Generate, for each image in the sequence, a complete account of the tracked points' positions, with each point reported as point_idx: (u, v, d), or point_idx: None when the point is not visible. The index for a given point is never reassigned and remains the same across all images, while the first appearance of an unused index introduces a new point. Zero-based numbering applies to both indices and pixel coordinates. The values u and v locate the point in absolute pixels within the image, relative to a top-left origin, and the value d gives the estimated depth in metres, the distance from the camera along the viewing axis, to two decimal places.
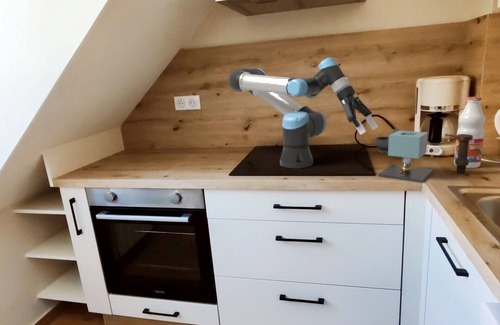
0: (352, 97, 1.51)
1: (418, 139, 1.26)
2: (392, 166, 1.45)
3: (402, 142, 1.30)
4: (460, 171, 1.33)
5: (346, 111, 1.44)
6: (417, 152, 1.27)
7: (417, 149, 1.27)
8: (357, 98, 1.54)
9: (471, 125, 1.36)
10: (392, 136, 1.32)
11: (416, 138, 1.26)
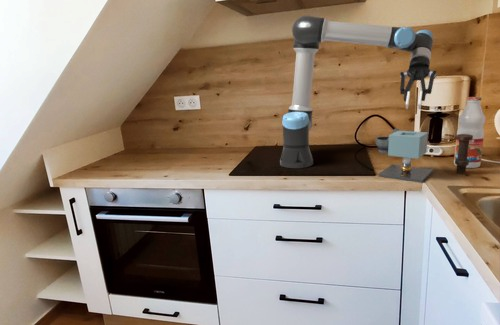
0: None
1: (418, 139, 1.26)
2: (392, 166, 1.45)
3: (402, 142, 1.30)
4: (460, 171, 1.33)
5: (432, 83, 1.35)
6: (417, 152, 1.27)
7: (417, 149, 1.27)
8: None
9: (471, 125, 1.36)
10: (392, 136, 1.32)
11: (416, 138, 1.26)
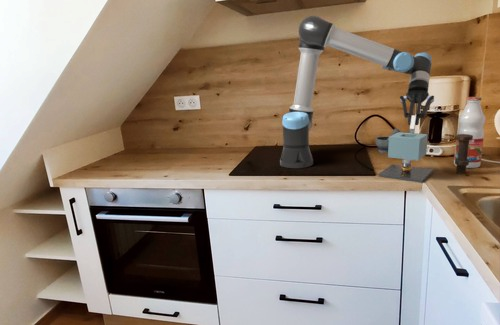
0: None
1: (418, 141, 1.26)
2: (392, 166, 1.45)
3: (402, 144, 1.30)
4: (460, 171, 1.33)
5: (427, 107, 1.37)
6: (417, 154, 1.27)
7: (417, 151, 1.27)
8: None
9: (471, 125, 1.36)
10: (392, 138, 1.32)
11: (416, 140, 1.26)
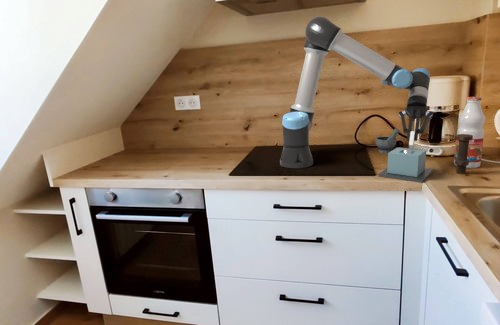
0: None
1: (417, 158, 1.28)
2: None
3: (401, 160, 1.32)
4: (460, 171, 1.33)
5: (426, 123, 1.39)
6: (416, 170, 1.29)
7: (416, 167, 1.29)
8: None
9: (471, 125, 1.36)
10: (391, 154, 1.33)
11: (415, 157, 1.28)
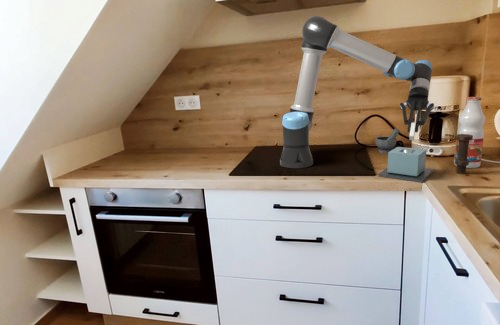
0: None
1: (417, 157, 1.28)
2: None
3: (401, 160, 1.31)
4: (460, 171, 1.33)
5: (427, 115, 1.38)
6: (416, 170, 1.29)
7: (416, 167, 1.29)
8: None
9: (471, 125, 1.36)
10: (391, 153, 1.33)
11: (415, 156, 1.28)
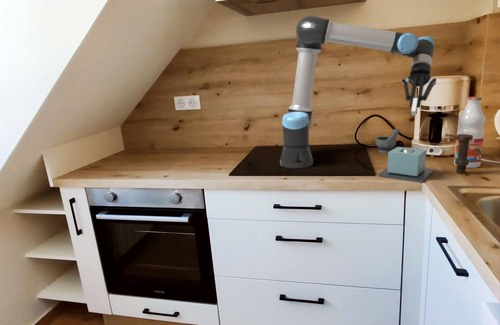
0: None
1: (417, 157, 1.28)
2: None
3: (401, 160, 1.31)
4: (460, 171, 1.33)
5: (429, 90, 1.37)
6: (416, 170, 1.29)
7: (416, 167, 1.29)
8: None
9: (471, 125, 1.36)
10: (391, 153, 1.33)
11: (415, 156, 1.28)
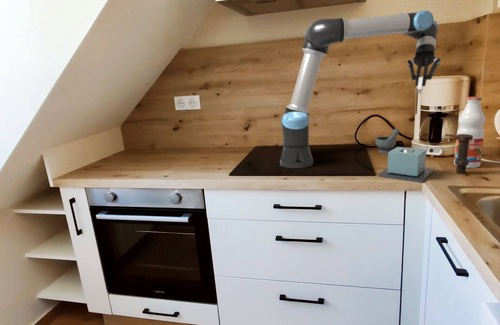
0: None
1: (417, 157, 1.28)
2: None
3: (401, 160, 1.31)
4: (460, 171, 1.33)
5: (434, 69, 1.44)
6: (416, 170, 1.29)
7: (416, 167, 1.29)
8: None
9: (471, 125, 1.36)
10: (391, 153, 1.33)
11: (415, 156, 1.28)
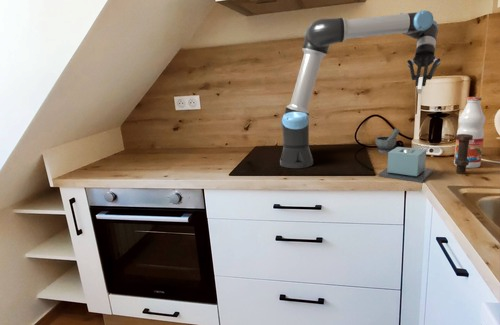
0: None
1: (417, 157, 1.28)
2: None
3: (401, 160, 1.31)
4: (460, 171, 1.33)
5: (434, 69, 1.44)
6: (416, 170, 1.29)
7: (416, 167, 1.29)
8: None
9: (471, 125, 1.36)
10: (391, 153, 1.33)
11: (415, 156, 1.28)
